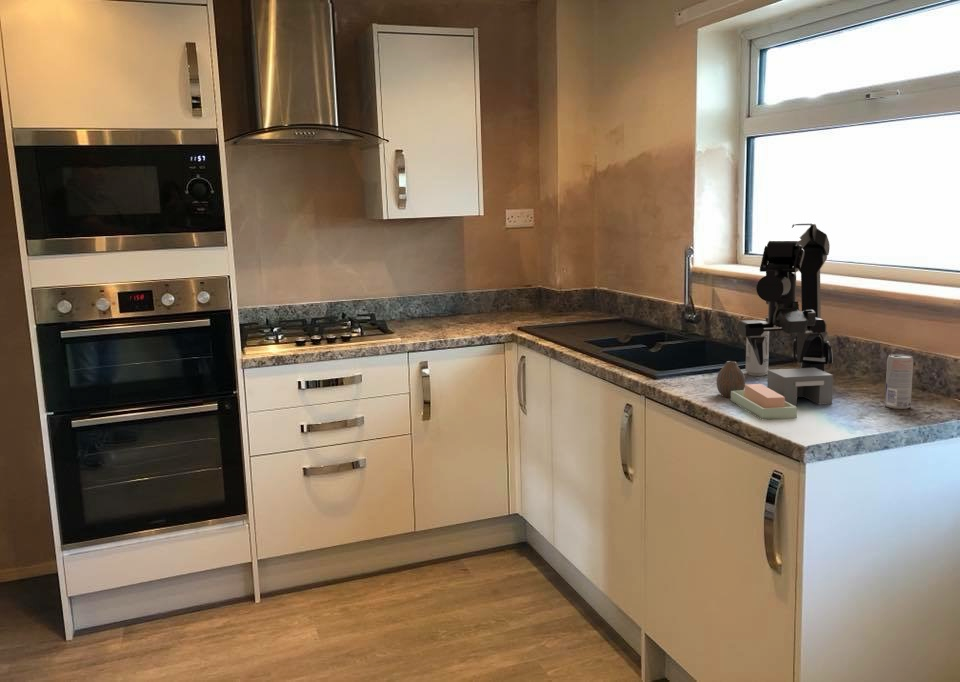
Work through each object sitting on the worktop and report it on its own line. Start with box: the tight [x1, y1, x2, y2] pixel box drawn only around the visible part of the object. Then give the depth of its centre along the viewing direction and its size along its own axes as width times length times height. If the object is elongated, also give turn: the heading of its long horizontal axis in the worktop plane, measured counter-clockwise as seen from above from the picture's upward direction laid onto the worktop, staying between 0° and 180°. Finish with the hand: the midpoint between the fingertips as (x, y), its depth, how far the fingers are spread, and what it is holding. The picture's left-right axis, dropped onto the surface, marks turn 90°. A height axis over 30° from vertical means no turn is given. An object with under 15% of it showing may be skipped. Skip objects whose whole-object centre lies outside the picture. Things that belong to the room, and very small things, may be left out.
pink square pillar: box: [744, 383, 785, 408], centre depth 188 cm, size 14×4×4 cm, turn 2°
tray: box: [730, 389, 798, 420], centre depth 189 cm, size 18×8×2 cm, turn 5°
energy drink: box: [884, 353, 914, 410], centre depth 187 cm, size 5×5×12 cm
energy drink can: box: [745, 319, 770, 377], centre depth 226 cm, size 6×6×15 cm
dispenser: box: [766, 367, 834, 407], centre depth 195 cm, size 10×12×7 cm
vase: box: [716, 360, 746, 398], centre depth 202 cm, size 7×7×9 cm
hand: (780, 363), depth 184 cm, fingers open, 9 cm apart
